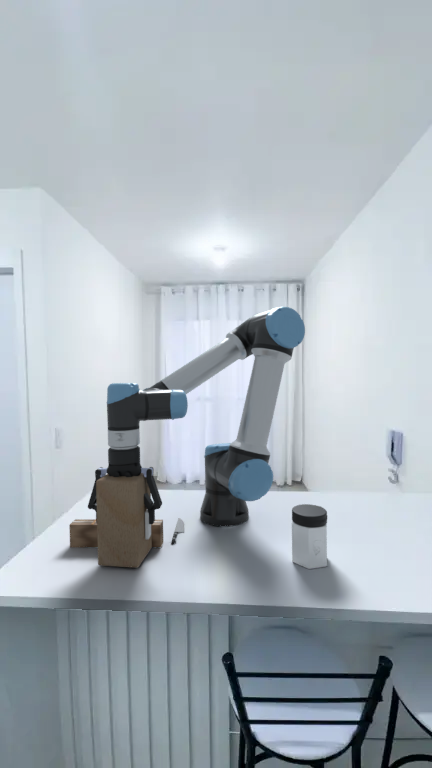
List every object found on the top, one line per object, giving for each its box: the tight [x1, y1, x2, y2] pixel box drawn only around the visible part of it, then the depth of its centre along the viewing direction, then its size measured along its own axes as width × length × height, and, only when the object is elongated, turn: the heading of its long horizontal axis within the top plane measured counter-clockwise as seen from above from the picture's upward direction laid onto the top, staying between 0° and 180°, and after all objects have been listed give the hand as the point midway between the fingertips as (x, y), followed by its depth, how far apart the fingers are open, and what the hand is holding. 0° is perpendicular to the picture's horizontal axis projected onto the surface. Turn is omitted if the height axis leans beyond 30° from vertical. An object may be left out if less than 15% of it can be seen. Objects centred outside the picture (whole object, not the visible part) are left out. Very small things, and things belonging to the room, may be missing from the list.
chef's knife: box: [170, 517, 185, 545], centre depth 105 cm, size 19×1×3 cm
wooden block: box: [96, 473, 153, 569], centre depth 88 cm, size 10×10×20 cm
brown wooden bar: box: [68, 518, 164, 548], centre depth 96 cm, size 24×4×6 cm, turn 87°
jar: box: [291, 503, 328, 570], centre depth 86 cm, size 9×8×12 cm
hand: (125, 536), depth 88 cm, fingers closed on wooden block, 10 cm apart
